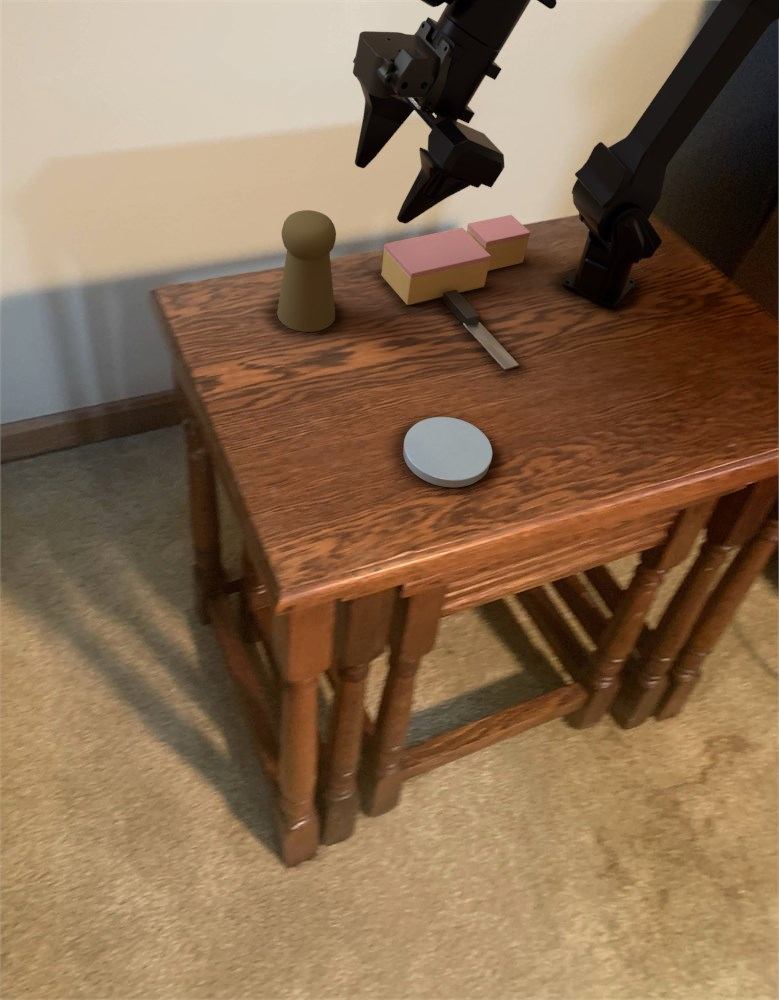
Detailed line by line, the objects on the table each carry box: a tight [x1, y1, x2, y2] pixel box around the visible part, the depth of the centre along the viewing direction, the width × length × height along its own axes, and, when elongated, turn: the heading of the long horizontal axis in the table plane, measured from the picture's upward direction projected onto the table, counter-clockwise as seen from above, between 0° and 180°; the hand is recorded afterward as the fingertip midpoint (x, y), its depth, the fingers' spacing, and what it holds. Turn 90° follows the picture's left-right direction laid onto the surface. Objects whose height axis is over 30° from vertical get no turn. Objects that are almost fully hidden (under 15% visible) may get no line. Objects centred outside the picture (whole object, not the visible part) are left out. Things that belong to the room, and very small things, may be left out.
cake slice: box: [466, 214, 531, 272], centre depth 96 cm, size 4×6×4 cm, turn 118°
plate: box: [402, 416, 493, 488], centre depth 75 cm, size 8×8×1 cm
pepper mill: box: [276, 209, 337, 333], centre depth 83 cm, size 6×6×11 cm
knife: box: [442, 290, 520, 372], centre depth 88 cm, size 2×12×1 cm, turn 28°
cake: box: [381, 227, 491, 306], centre depth 92 cm, size 6×10×4 cm, turn 118°
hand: (379, 193), depth 79 cm, fingers open, 9 cm apart
